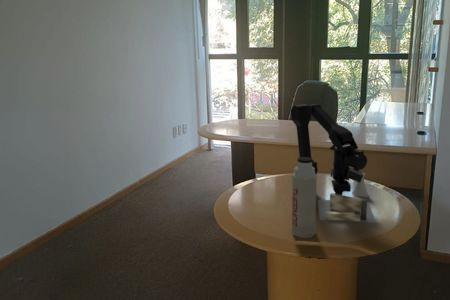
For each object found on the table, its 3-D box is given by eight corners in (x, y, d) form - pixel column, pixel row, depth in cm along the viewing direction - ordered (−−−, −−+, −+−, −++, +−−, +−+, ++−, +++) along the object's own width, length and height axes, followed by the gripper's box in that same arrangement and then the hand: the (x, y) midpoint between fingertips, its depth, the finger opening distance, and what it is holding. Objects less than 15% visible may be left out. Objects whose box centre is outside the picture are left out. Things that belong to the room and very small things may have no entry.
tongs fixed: (365, 217, 151) (366, 200, 149) (367, 221, 148) (368, 203, 146) (324, 215, 154) (325, 198, 152) (325, 219, 151) (325, 202, 149)
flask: (366, 192, 178) (367, 171, 175) (370, 199, 171) (371, 176, 168) (349, 192, 179) (350, 171, 176) (352, 198, 172) (354, 176, 169)
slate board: (319, 222, 151) (319, 219, 150) (317, 201, 170) (318, 199, 169) (375, 225, 147) (376, 222, 147) (367, 203, 166) (367, 201, 166)
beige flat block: (362, 214, 153) (363, 199, 151) (360, 216, 152) (361, 201, 150) (331, 207, 161) (332, 192, 159) (329, 208, 160) (330, 194, 158)
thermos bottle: (295, 241, 137) (296, 162, 130) (289, 230, 145) (290, 155, 138) (317, 239, 138) (320, 161, 131) (311, 229, 146) (313, 154, 138)
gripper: (366, 171, 146) (363, 210, 150) (359, 156, 164) (356, 191, 168) (334, 170, 148) (332, 209, 152) (330, 155, 166) (329, 190, 170)
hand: (338, 199), depth 161 cm, fingers closed
